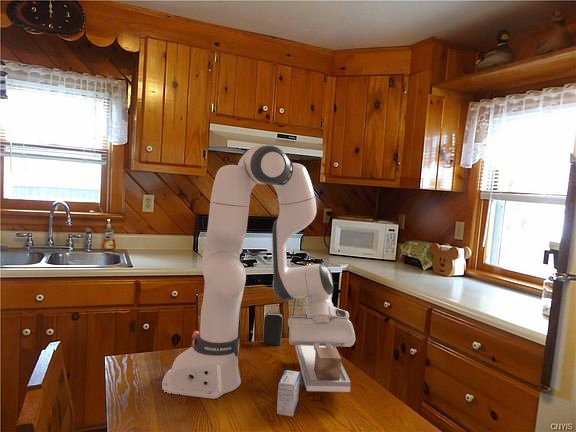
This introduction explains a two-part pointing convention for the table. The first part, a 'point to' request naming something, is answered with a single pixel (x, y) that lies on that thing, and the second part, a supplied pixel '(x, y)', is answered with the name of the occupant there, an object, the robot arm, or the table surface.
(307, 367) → the white flat rectangular tray
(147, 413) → the table surface
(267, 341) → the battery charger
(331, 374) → the walnut block
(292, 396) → the medicine box
